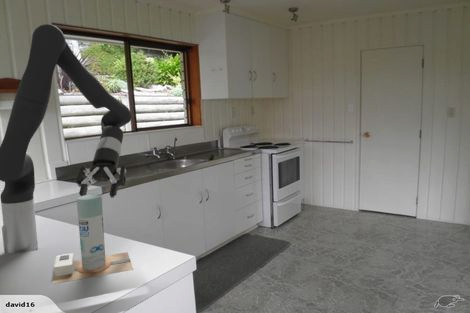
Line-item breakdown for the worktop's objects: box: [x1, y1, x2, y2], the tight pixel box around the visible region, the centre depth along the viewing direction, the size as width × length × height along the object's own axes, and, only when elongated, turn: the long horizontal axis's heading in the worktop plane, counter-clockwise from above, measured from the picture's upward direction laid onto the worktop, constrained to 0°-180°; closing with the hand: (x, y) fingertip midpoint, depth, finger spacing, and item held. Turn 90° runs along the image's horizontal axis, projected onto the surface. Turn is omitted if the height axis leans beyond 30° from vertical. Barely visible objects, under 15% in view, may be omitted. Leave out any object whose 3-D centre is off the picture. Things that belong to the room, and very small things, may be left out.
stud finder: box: [53, 252, 75, 277], centre depth 100 cm, size 9×4×3 cm, turn 23°
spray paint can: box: [76, 194, 106, 270], centre depth 101 cm, size 6×6×20 cm
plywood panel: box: [52, 251, 134, 285], centre depth 102 cm, size 20×14×2 cm
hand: (97, 196), depth 105 cm, fingers open, 8 cm apart
